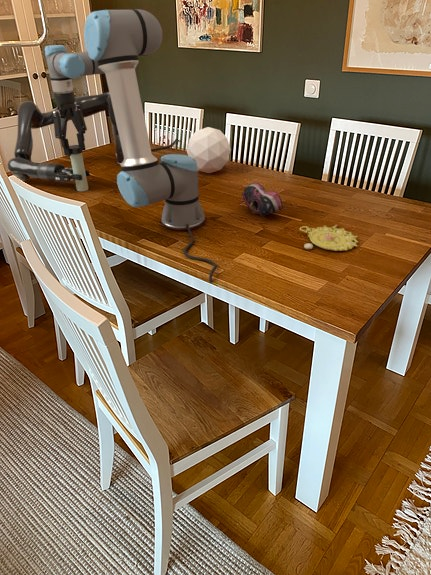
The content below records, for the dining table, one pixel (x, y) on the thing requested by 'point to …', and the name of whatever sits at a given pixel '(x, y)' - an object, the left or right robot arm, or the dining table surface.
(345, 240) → the decorative object
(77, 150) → the lid
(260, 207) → the athletic shoe
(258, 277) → the dining table surface
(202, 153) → the sphere
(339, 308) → the dining table surface
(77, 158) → the pale green capped tube
